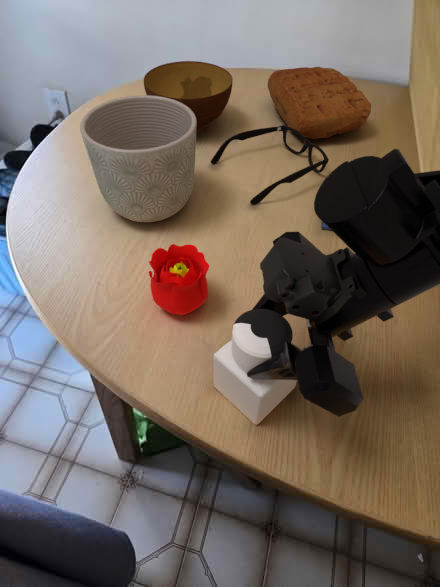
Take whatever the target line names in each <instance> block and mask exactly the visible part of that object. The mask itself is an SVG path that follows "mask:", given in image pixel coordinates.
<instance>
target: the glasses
mask: <svg viewBox="0 0 440 587" xmlns="http://www.w3.org/2000/svg"><path fill="white" fill-rule="evenodd" d="M288 131H290V132H292V133H294V134H295V135H297V136H299V137H301V139H302V141H304V144H303V145H302V147H301V148H300V150H299V151H298V150H295V149H293V148H292V147H290V146H289V144H288V143H287V133H288ZM275 132H282V143H283V145H284V147H285V148H286V149H287V150H289V151H290V152H291V153H293V154H294V155H295V154H296V155H302V154H303V153H306V151H307V158H308V160H307V161H308V163H309V166H306V167H303V168H301V169H298V170H297V171H295V172H292V173H291V174H289V175H287V176H285V177H283V178H281V179H279V180H277V181H275V182H273V183H272V184H269V185H268V186H267V187H265V188H264V189H263V190H261V191H260V192H259V193H258V194H256V195H255V196H253V197H252V198H251V199H250V201H249V203H250V205H258V204H259V203H261V202H263V200H264V199H265V198H266V197H268V195H270V193H272V192H273V190H274V189H276V188H277V187H278V186H280V185H282V184H291V183H293V182H295V181H297V180H299V179H300V178H302V177H304V176H305V175H307V174H309V173H310V172H313V171H314V172H315V173H319V174H320V173H322V172H324V170H325V169H326V166H327V165H328V163H329V158H328V155H327V154H326V152H325V151H324V149H322V148H321V147H320V146H319V145H317V144H315V143H312V142H311V141H310V140H309V138H308V137H305V136H304V135H303V134H301V133H300V132H298V131H297V130H295V129H293V128H290V127H289V126H288V125H284V124H282V125H279V126H270V127H269V126H268V127H262V128H256V129H251V130H246V131H243V132H240V133H237V134H235V135H233V136H231V137H229V138H227V139H226V140H225V141H224V142H223V143H222V144H221V146H220V147H219V148H218V149H217V151H216V152H215V153H214V156H213V157H212V158H211V160H210V164H212V165H215V164H217V163H218V162H219V161H220V159H221V157H222V155H224V152H225V151H226V149H227V147H228V146H229V144H231V142H233V141H245V140H248V139H252V138H255V137H259V136H263V135H267V134H271V133H275ZM313 148H315V149H316V150H317V151H318V152H319V153H320V154H321V156H322V157H323V159H321V160H320V161H318V162H315V163H313V159H312V157H313V150H314V149H313ZM320 166H321V167H320ZM319 167H320V169H318V168H319Z"/></svg>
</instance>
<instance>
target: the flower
mask: <svg viewBox="0 0 440 587" xmlns="http://www.w3.org/2000/svg"><path fill="white" fill-rule="evenodd" d="M148 264H149V265H150V267H151V269H152V270H153V271H152V270H149V271H148V275H149V277H150V292H151V296H152V299H153V302H154V303H155V304H156V305H157V306H158V307H159V308H161V309H162V310H164V311H166V312H167V313H171V314H173V315H180V316H185V315H187V314H190V313H191V312H193V311H195V310H196V309H198V308H200V307H201V306H202V305H203V304H204V303H205V302H206V301H207V298H208V296H209V285H208V280H207V273H208V271H209V269H210V264H209V263H208V262H207V260H206V257H205V254H204V253H203V252H201V251H199V250H198V247H197V246H196V245H194V244H184V245H177V244H175V243H172V244H170V245H169V247H168V249H167V250H166V249H164V248H162V247H157V249H155V250H154V251H153V252H152V254H151V259H150V260H149V261H148Z"/></svg>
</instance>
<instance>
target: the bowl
mask: <svg viewBox="0 0 440 587" xmlns="http://www.w3.org/2000/svg"><path fill="white" fill-rule="evenodd" d="M143 89H144V91H145V95H150V96H160V97H165V98H169V99H173V100H176V101H178V102H180V103H182V104H184V105H186V106H187V107H189V108H190V109H191V110H192V111H193V113H194V114H195V117H196V121H197V126H196V134H197V133H201V132H202V131H203V130H204V129H205V128H206V127H207V126H209V125H211V124H212V123H213V122H215V121H216V120H217V119H218V118H219V117H220V116H221V115H222V113H223V112H224V110H225V109H226V107H227V105H228V103H229V100H230V98H231V94H232V90H233V76H232V74H231V73H230V72H229V71H228V70H227V69H225V68H224V67H221V66H219V65H216V64H213V63H210V62H204V61H197V60H196V61H195V60H184V61H183V60H181V61H173V62H167V63H163V64H160V65H158V66H155V67H154V68H152V69H150V70H149V71H148V72H146V73H145V75H144V77H143Z"/></svg>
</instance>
